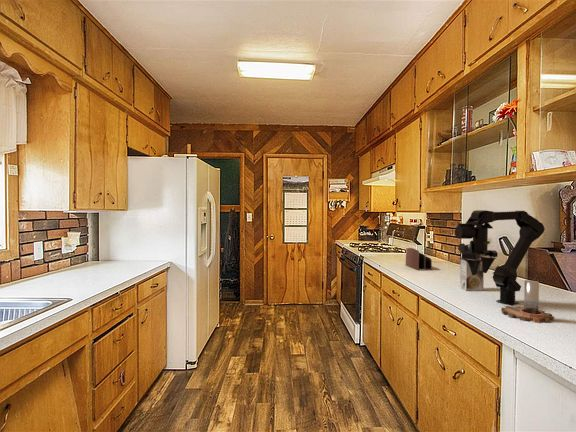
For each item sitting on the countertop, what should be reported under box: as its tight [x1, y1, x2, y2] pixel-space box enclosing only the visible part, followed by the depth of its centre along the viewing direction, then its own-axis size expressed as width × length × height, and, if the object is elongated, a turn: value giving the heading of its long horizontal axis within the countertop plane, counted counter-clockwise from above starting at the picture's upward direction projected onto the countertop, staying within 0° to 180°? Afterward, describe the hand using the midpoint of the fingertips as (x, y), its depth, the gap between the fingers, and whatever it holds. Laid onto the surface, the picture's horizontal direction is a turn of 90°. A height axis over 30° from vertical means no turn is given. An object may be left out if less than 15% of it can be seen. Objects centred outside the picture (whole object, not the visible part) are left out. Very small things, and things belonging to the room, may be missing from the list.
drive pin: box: [523, 279, 540, 314], centre depth 127 cm, size 4×4×13 cm
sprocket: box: [500, 305, 555, 323], centre depth 131 cm, size 16×16×3 cm
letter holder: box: [405, 247, 433, 272], centre depth 235 cm, size 10×20×14 cm, turn 4°
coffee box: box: [459, 257, 485, 292], centre depth 172 cm, size 9×6×16 cm
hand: (479, 274), depth 147 cm, fingers open, 9 cm apart
